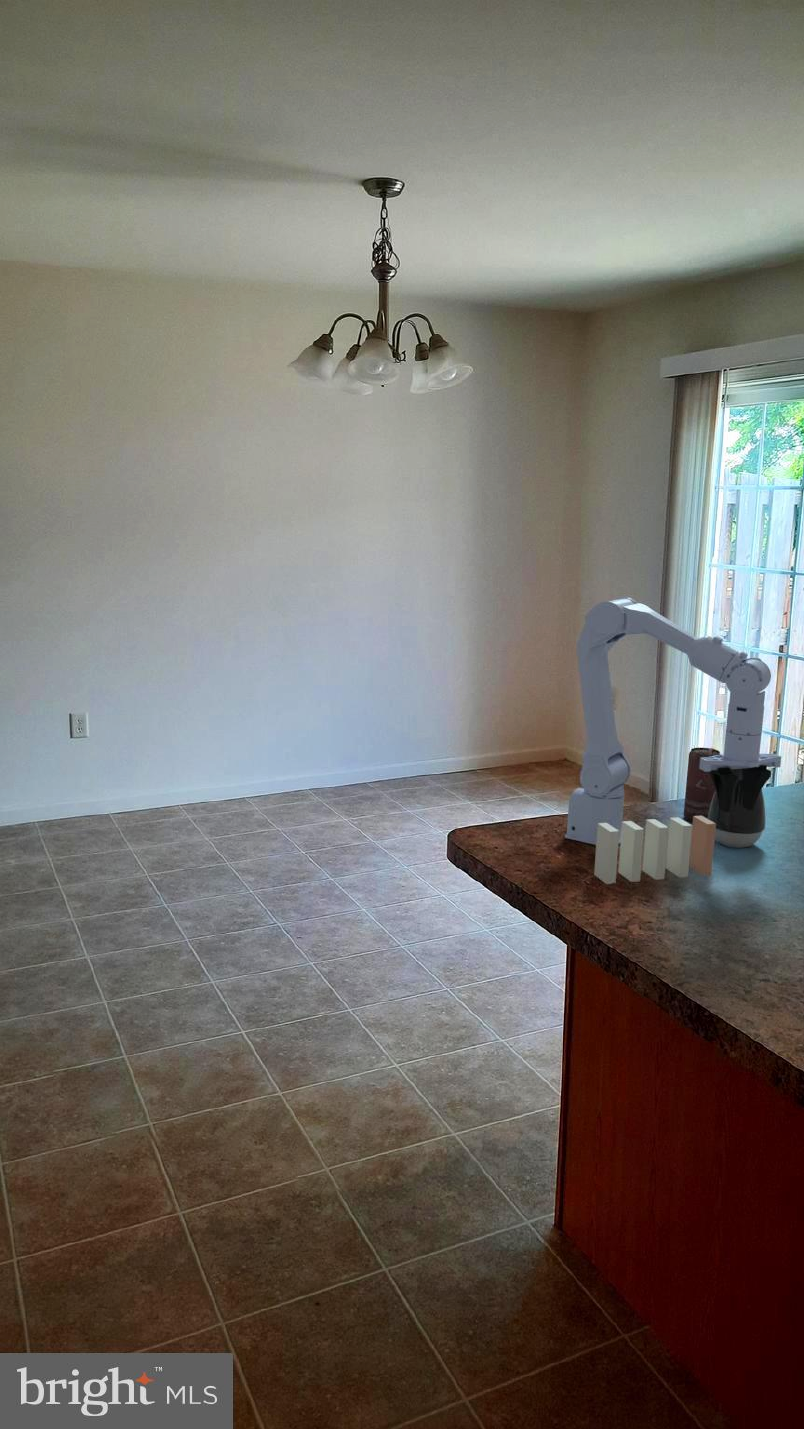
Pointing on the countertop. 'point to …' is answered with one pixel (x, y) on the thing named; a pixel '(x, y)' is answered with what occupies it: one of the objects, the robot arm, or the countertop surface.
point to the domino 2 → (631, 851)
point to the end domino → (702, 845)
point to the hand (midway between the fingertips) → (735, 809)
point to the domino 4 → (678, 847)
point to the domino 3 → (655, 849)
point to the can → (698, 785)
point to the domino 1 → (606, 853)
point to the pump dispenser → (738, 818)
